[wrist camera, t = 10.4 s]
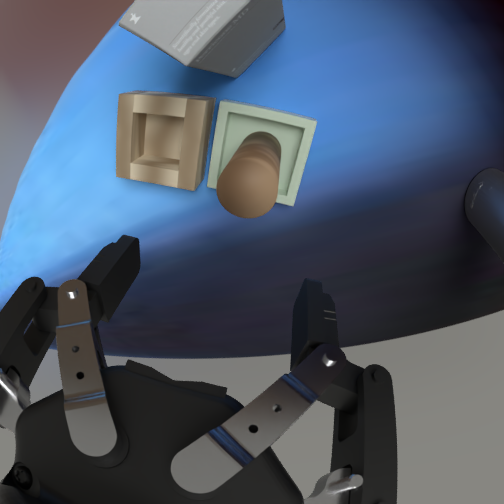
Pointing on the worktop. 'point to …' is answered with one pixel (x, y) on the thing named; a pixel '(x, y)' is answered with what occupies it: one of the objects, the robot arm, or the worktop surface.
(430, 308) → the worktop surface
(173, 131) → the pocket block
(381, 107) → the worktop surface
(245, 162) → the dowel
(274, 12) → the skincare box
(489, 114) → the worktop surface
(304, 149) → the tray
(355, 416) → the robot arm
